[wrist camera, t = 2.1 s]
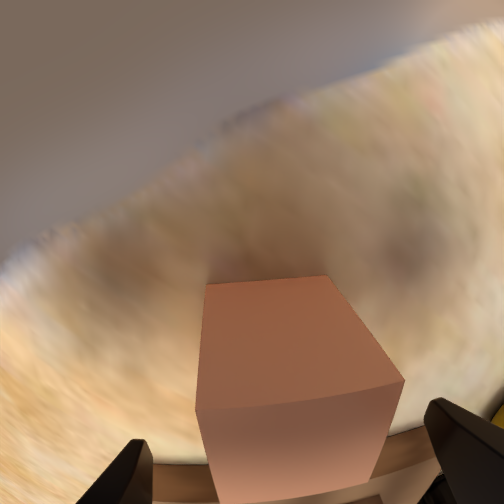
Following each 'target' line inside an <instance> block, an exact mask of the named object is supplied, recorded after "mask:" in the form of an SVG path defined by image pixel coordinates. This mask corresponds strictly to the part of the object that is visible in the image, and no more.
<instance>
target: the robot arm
mask: <svg viewBox="0 0 504 504" xmlns="http://www.w3.org/2000/svg"><path fill="white" fill-rule="evenodd" d="M424 424H425V427H426V430H427V432H428V435H429V438H430V441H431V444H432V447H433V450H434V453H435V455H436V458H437V460H438V462H439V464H440V467H441V469H442V471H443V473H444V475H443V476H441V477H438V478H436V479H434V481H433V482H432V484H431V485H430V487H429V488H428V489H427V491H426V492H425V494H424V495H423V496H422V498H421V499H420V500H419V502H418V503H417V504H504V429H503V428H501V427H499V426H497V425H495V424H493V423H491V422H489V421H487V420H485V419H483V418H481V417H479V416H477V415H475V414H473V413H471V412H469V411H467V410H465V409H464V408H462V407H460V406H458V405H456V404H454V403H452V402H450V401H448V400H446V399H444V398H442V397H440V398H436V399H433V400H431V401H430V403H429V405H428V407H427V410H426V412H425V415H424ZM152 501H153V456H152V453H151V451H150V449H149V446H148V444H147V442H146V441H145V440H144V439H132V440H130V442H129V443H128V444H127V445H126V446H125V447H124V449H123V450H122V451H121V452H120V453H119V454H118V456H117V457H116V458H115V459H114V460H113V461H112V463H111V464H110V465H109V466H108V467H107V468H106V469H105V471H104V472H103V473H102V474H101V475H100V476H99V478H98V479H97V480H96V481H95V482H94V483H93V484H92V486H91V487H90V488H89V489H88V490H87V491H86V492H85V493H84V495H83V496H82V497H81V498H80V499H79V500H78V501H77V503H76V504H152Z"/></svg>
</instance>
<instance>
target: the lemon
mask: <svg viewBox="0 0 504 504" xmlns="http://www.w3.org/2000/svg"><path fill="white" fill-rule="evenodd" d="M491 423H493V424H495V425H497V426H499V427H501V428H503V429H504V404H503V405H502V406H501V408H500V409H499V410H498V412H497V413H496V415H495V416H494V418H493V419H492V421H491Z"/></svg>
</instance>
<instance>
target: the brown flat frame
mask: <svg viewBox="0 0 504 504" xmlns="http://www.w3.org/2000/svg"><path fill="white" fill-rule="evenodd" d="M440 470H441V467H440V464H439V462H438V460H437V458H436V455H435V453H434V450H433V447H432V444H431V441H430V438H429V435H428V432H427V430H426V427H425V426H422V427H419V428H416V429H413V430H410V431H407V432H404V433H400V434H397V435H394V436H390V437H387V438H386V439H385V442H384V445H383V447H382V450H381V452H380V455H379V457H378V460H377V462H376V465H375V467H374V469H373V472H372V474H371V476H370V478H369V481H368V482H367V483H363V484H360V485H356V486H352V487H348V488H343V489H339V490H335V491H330V492H325V493H320V494H315V495H309V496H303V497H297V498H291V499H284V500H276V501H267V502H257V503H245V504H417V503H418V502H419V500H420V499H421V498H422V496H423V495H424V494H425V492H426V491H427V489H428V488H429V487H430V485H431V484H432V482H433V481H434V479H435V478H436V476H437V475H438V473H439V472H440ZM152 504H220V501H219V498H218V495H217V491H216V488H215V485H214V481H213V478H212V474H211V470H210V467H209V465H159V464H153V501H152Z"/></svg>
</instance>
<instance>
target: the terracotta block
mask: <svg viewBox="0 0 504 504" xmlns="http://www.w3.org/2000/svg"><path fill="white" fill-rule="evenodd" d="M404 382H405V379H404V378H403V377H402V375H401V374H400V372H399V371H398V370H397V368H396V367H395V365H394V364H393V363H392V361H391V360H390V358H389V357H388V356H387V354H386V353H385V352H384V350H383V349H382V347H381V346H380V345H379V343H378V342H377V341H376V339H375V338H374V337H373V335H372V334H371V333H370V331H369V330H368V329H367V327H366V326H365V325H364V323H363V322H362V321H361V319H360V318H359V317H358V315H357V314H356V313H355V311H354V310H353V309H352V307H351V306H350V305H349V303H348V302H347V301H346V299H345V298H344V297H343V295H342V294H341V293H340V292H339V290H338V289H337V288H336V286H335V285H334V284H333V283H332V281H331V280H330V279H329V277H328V276H327V275H320V276H309V277H298V278H286V279H274V280H261V281H248V282H235V283H221V284H206V291H205V301H204V311H203V321H202V332H201V343H200V354H199V366H198V378H197V391H196V405H195V411H196V416H197V420H198V424H199V428H200V432H201V436H202V440H203V444H204V448H205V452H206V456H207V459H208V463H209V467H210V470H211V474H212V478H213V481H214V485H215V488H216V491H217V495H218V498H219V501H220V504H245V503H257V502H267V501H276V500H284V499H291V498H297V497H303V496H309V495H315V494H320V493H325V492H330V491H335V490H339V489H343V488H348V487H352V486H356V485H360V484H363V483H367V482H368V481H369V478H370V476H371V474H372V472H373V469H374V467H375V465H376V462H377V460H378V457H379V455H380V452H381V450H382V447H383V445H384V442H385V439H386V437H387V434H388V431H389V429H390V426H391V423H392V420H393V417H394V414H395V411H396V408H397V405H398V402H399V399H400V396H401V392H402V389H403V386H404Z"/></svg>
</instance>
